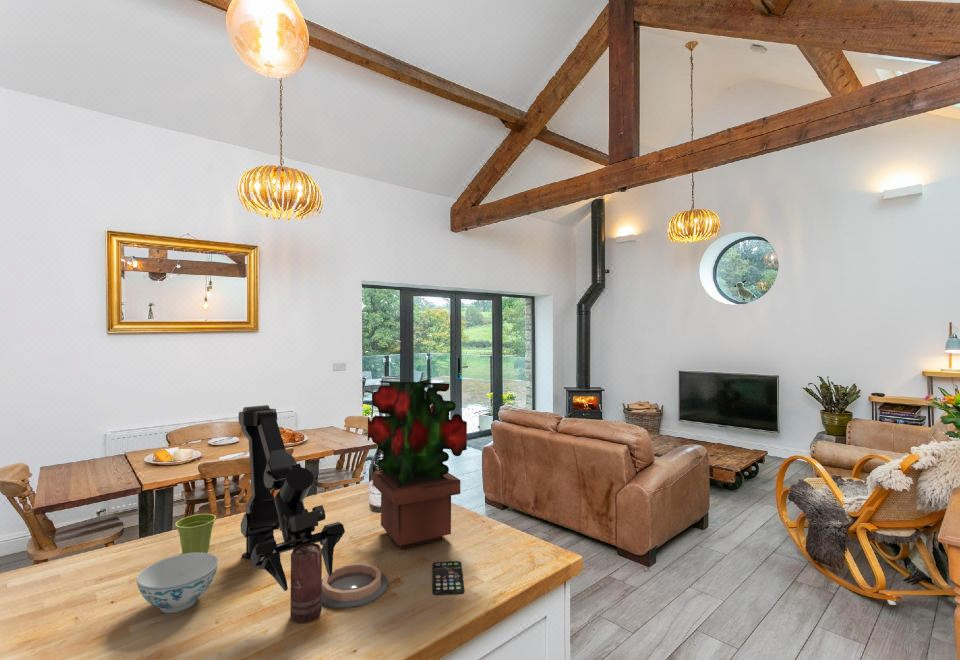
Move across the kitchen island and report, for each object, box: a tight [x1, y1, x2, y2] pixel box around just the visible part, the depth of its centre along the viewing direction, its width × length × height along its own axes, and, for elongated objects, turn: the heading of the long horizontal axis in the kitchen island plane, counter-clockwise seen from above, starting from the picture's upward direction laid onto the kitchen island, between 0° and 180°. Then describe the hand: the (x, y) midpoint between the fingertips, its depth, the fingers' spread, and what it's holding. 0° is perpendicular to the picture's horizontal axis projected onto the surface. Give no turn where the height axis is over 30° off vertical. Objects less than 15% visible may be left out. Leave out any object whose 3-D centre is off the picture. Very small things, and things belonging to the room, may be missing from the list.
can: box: [289, 543, 323, 624], centre depth 99 cm, size 6×6×14 cm
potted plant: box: [367, 378, 468, 550], centre depth 137 cm, size 22×22×45 cm
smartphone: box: [431, 560, 465, 596], centre depth 114 cm, size 7×1×15 cm
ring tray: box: [321, 562, 388, 609], centre depth 109 cm, size 16×16×3 cm
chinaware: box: [136, 552, 219, 614], centre depth 103 cm, size 15×15×8 cm
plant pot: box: [174, 513, 217, 554], centre depth 126 cm, size 9×9×9 cm
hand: (309, 582), depth 98 cm, fingers open, 9 cm apart
